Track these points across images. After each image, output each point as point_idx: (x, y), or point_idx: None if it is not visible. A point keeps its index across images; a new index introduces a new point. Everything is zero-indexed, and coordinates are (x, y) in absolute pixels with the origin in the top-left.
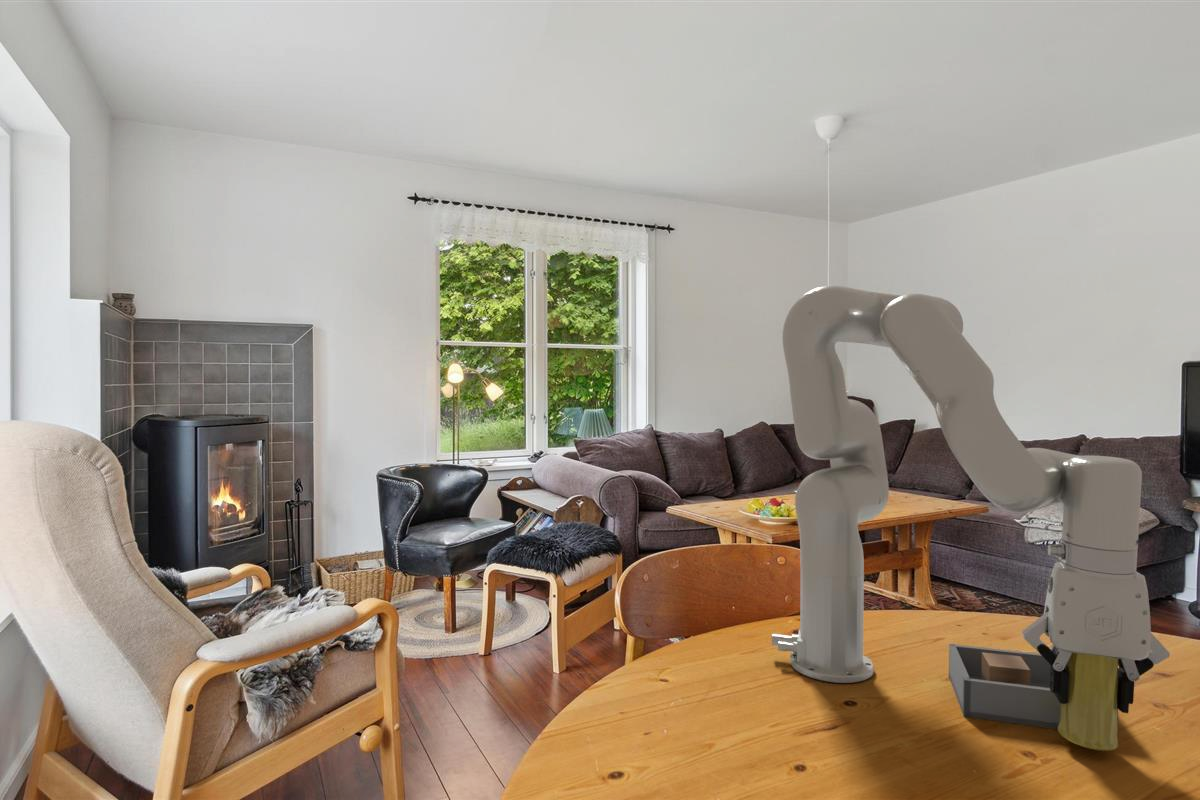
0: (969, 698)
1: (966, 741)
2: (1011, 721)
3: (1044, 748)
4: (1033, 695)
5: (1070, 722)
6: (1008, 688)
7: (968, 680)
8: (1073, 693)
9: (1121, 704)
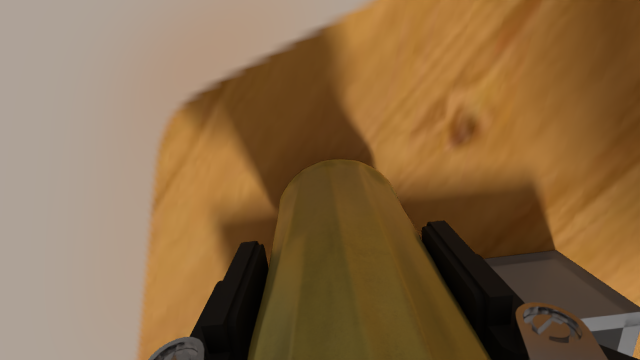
0: (582, 278)
1: (588, 132)
2: None
3: (422, 174)
4: None
5: (394, 199)
6: None
7: (633, 313)
8: (419, 246)
9: (257, 256)
